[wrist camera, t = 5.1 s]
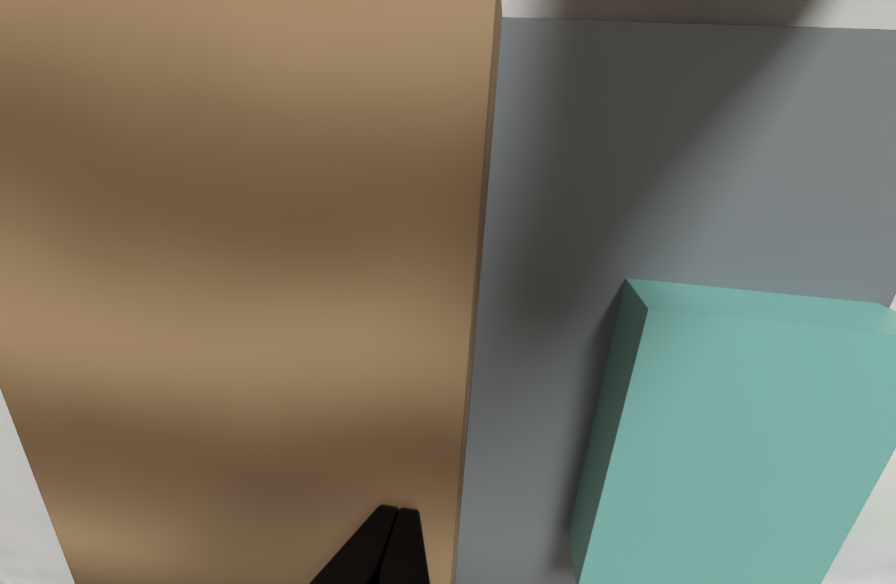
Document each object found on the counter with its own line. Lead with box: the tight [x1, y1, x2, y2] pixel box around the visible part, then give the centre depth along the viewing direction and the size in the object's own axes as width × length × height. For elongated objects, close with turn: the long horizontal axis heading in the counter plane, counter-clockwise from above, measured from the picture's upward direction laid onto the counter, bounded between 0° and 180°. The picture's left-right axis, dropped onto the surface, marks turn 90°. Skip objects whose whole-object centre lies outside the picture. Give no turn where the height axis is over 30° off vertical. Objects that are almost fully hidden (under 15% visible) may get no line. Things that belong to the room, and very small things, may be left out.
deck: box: [0, 0, 502, 584], centre depth 12 cm, size 20×11×4 cm, turn 177°
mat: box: [455, 17, 896, 584], centre depth 13 cm, size 20×10×1 cm, turn 177°
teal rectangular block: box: [568, 278, 896, 584], centre depth 12 cm, size 9×6×2 cm, turn 176°
